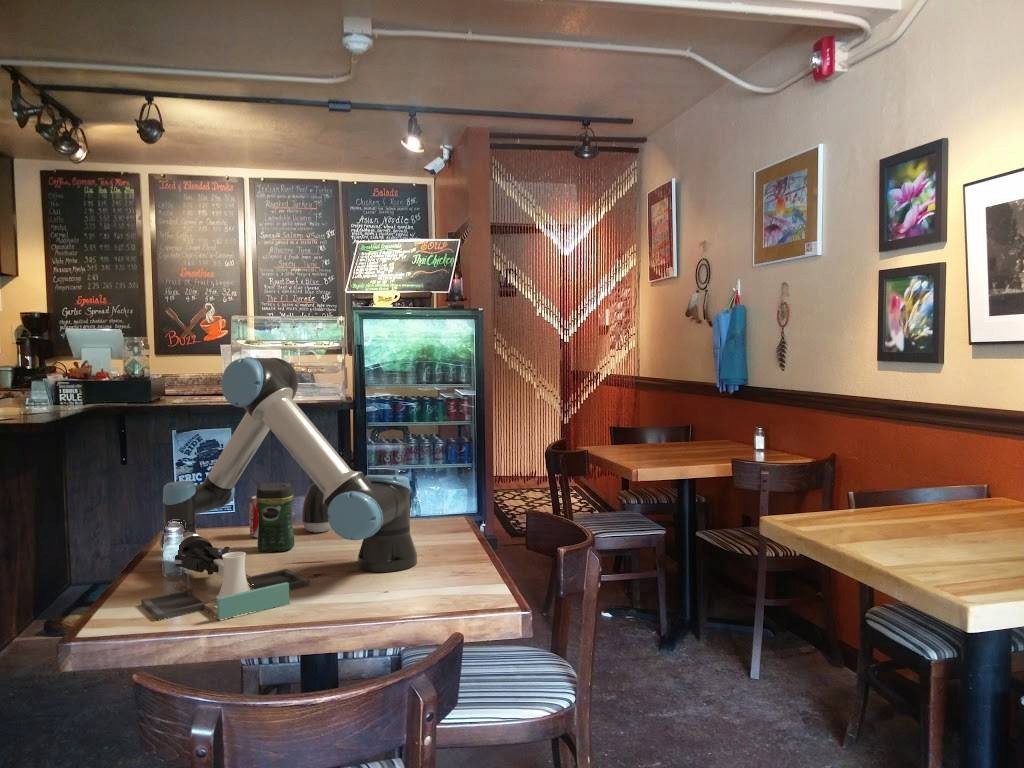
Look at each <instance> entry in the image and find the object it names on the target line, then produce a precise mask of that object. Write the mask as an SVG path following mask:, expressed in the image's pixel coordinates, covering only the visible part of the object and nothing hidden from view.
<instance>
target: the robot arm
mask: <svg viewBox="0 0 1024 768" xmlns="http://www.w3.org/2000/svg"><path fill="white" fill-rule="evenodd" d="M220 385H221V386H220V387H221V389H220V390H221V393H222V395H223V398H224V399H225V400H226V401H227V402H228V403H229V404H230V405H232V406H234V407H237V408H243V409H244V410H245V411H246V412H245V414H244V415H243V417H242V419H241V420H240V422H239V424H238V426H237V427H236V429H235V430H234V432H233V434H232V435H231V437H230V439H229V440H228V441H227V443H226V445H225V447H224V448H223V449H222V451H221V453H220V454H219V457H218V458H217V460H216V461H215V462H214V464H213V466H212V468H211V470H210V471H209V473H208V474H207V476H206V477H205V479H204V481H203V482H202V483H201V484H200V483H199V484H195V483H194V482H193V481H191V480H178V481H172V482H168V483H166V484H165V485H164V486H163V493H162V506H163V507H162V508H163V510H162V511H163V529H164V528H165V526H166V524H167V522H168V521H170V520H172V519H180V520H173V521H177V522H180V524H182V525H183V526H184V530H185V531H184V532H183V537H184V538H183V539H184V540H183V541H182V542H181V544H180V545H179V550H178V555H176V556H175V558H174V567H176V568H183V569H186V570H189V571H193V572H196V573H203V572H205V571H206V572H207V575H209V576H211V575H213V574H214V573H216V574H217V575H218V576H221V577H222V578H223V573H224V566H223V558H222V555H223V554H226V553H230V549H231V548H230V546H225V547H223V548H220V549H219V548H218V547H214V546H213V545H212V542H210V541H209V540H208V539H207V538H205V537H204V536H201V535H199V534H198V533H197V520H196V519H197V517H196V516H197V515H198V514H202V513H204V512H205V513H206V512H209V511H212V510H215V509H220V508H223V507H224V506H226V505H229V504H230V503H231V502H232V501H234V497H235V493H236V491H235V490H236V489H235V485H236V484H237V482H238V481H239V479H240V477H241V476H242V475H243V472H244V471H245V470H246V468H247V466H248V465H249V463H250V462H251V460H252V458H253V457H254V456H255V454H256V452H257V450H258V449H259V448H260V446H261V444H262V442H263V441H264V439H265V438H266V436H267V435H268V433H269V432H270V431H271V432H272V433H273V434H274V435H275V437H276V438H277V439H278V441H279V442H280V443H281V444H282V445H283V447H284V448H285V449H286V450H287V451H288V453H289V454H290V455H291V456H292V458H293V459H294V460H295V461H296V462H297V464H299V466H300V467H301V468H302V470H303V471H304V472H305V473H306V474H307V476H308V477H309V478H310V479H311V480H312V482H313V483H315V484H316V485H317V487H318V488H319V489H320V490H321V491H322V493H323V494H324V498H323V504H324V505H325V507H326V508H327V509H328V516H329V517H328V521H329V524H330V526H331V528H330V529H331V530H332V531H333V532H334V533H335V534H336V535H338V536H339V537H340V538H343V539H344V540H348V541H361V540H362V543H361V546H360V549H359V552H358V554H357V566H358V568H359V569H361V570H364V571H366V572H367V571H368V572H374V573H376V572H377V573H385V572H386V573H387V572H388V573H390V572H399V571H402V570H403V571H404V570H406V569H410V568H413V567H415V566H416V565H417V564H418V554H417V550H416V547H415V544H414V541H413V538H412V535H411V504H410V503H411V497H410V495H411V493H410V492H411V487H410V480H409V477H408V476H405V475H396V474H395V475H393V474H368V475H365V474H364V473H363V471H355V470H352V469H351V468H350V467H349V465H348V464H347V463H346V462H345V461H344V459H343V458H342V456H340V455H339V453H338V452H337V451H336V450H335V449H334V447H333V446H332V445H331V444H330V442H329V441H328V440H327V438H325V436H324V435H323V434H322V433H321V432H320V430H319V429H318V428H317V427H316V426H315V424H314V423H313V422H312V421H311V419H309V417H308V415H306V414H305V413H304V411H303V410H302V409H301V407H299V406H298V404H297V403H296V402H295V400H294V399H295V396H296V395H297V391H298V388H299V378H298V373H297V371H296V369H295V368H294V366H292V365H291V363H289V362H288V361H287V360H285V359H283V358H278V357H251V356H248V357H243V358H238V359H235V360H233V361H231V362H230V363H229V364H228V365H227V366H226V368H225V369H224V371H223V374H222V376H221V383H220ZM183 520H185V521H183ZM171 522H172V521H171ZM181 522H182V523H181ZM185 522H186V528H185ZM168 524H169V523H168ZM168 524H167V526H168ZM159 537H160V538H159V546H160V547H161V549H162V550H163V544H164V534H163V532H161V535H160V536H159Z"/></svg>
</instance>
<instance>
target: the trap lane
mask: <svg viewBox="0 0 1024 768" xmlns="http://www.w3.org/2000/svg"><path fill="white" fill-rule="evenodd" d="M245 574H246V579H247V582H248V583H249V584H250V585H252V584H254V585H252V586H254V587H255V588H257V589H259V588H263V587H268V586H272V585H276V584H281V583H285V582H287V583H289V589H291V590H295V588H296V589H300V588H304V587H308V586H310V580H309V579H308V578H306V577H304V576H301V575H300V574H299V573H295V572H294V571H291V570H289V569H288V568H283V569H279V570H278V569H277V570H275V571H270V572H265V573H261V574H255V575H252V576H251V575H249V574H247V573H245ZM249 584H248V585H249ZM250 585H249V586H250ZM252 586H251V587H252ZM254 587H253V588H254ZM299 587H300V588H299ZM255 588H254V589H255ZM175 589H176V591H175V592H172V593H167V594H161V595H158V596H156V595H155V596H152V597H148V598H143V599H141V606H142V607H143V608H144V609H145V610H146V611H147V612H148V613H149V614H150V615H152V616H153V617H154V616H155V617H156V618H157V619H158V620H159V619H163V620H165V619H164V618H167V619H169V618H168V617H172V618H174V617H173V616H176V617H179V616H178V615H180V616H183V615H182V614H184V615H187V614H186V613H189V614H192V613H191V612H193V613H196V612H195V611H197V612H200V611H199V610H202V611H205V610H206V611H208V612H209V613H210V614H212V615H213V616H215V617H216V618H217V606H215V605H214V604H213V603H211V602H209V601H204V602H203V601H201V599H199V598H198V597H196V596H195V595H193V589H191V588H190V587H188V586H187V585H186V584H184V583H183V582H176V583H175ZM178 590H179V591H178ZM203 609H205V610H203ZM206 611H205V612H206ZM208 612H207V613H208ZM209 613H208V614H209ZM210 614H209V615H210ZM212 615H211V616H212ZM213 616H212V617H213ZM155 617H154V618H155ZM156 618H155V619H156ZM216 618H215V619H216ZM157 619H156V620H157ZM158 620H157V621H158ZM159 621H160V620H159Z"/></svg>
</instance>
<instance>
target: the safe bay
mask: <svg viewBox="0 0 1024 768" xmlns="http://www.w3.org/2000/svg"><path fill="white" fill-rule="evenodd" d="M216 600H217V602H216V608H217V619H219V620H221V619H225V618H229V617H233V616H237V615H241V614H245V613H249V612H254V611H259V612H261V611H260V610H263V611H265V610H264V609H267V610H270V609H269V608H271V609H274V608H273V607H275V608H278V607H277V606H279V607H282V606H281V605H284V606H286V605H285V604H288V605H289V604H290V590H289V583H287V582H285V583H281V584H276V585H272V586H268V587H263V588H259V589H255V588H254V589H250V591H245V592H241V593H237V594H232V595H228V596H223V597H219V598H216ZM217 619H216V620H217Z"/></svg>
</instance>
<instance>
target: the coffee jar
mask: <svg viewBox="0 0 1024 768" xmlns="http://www.w3.org/2000/svg"><path fill="white" fill-rule="evenodd" d="M255 496H256V501H257V504H258V507H259V529H258V538H257V550H259V552H264V551H265V552H266V553H268V552H269V553H276V552H275V551H279V552H284V551H287V550H291V549H293V548H294V547H295V534H294V527H293V518H292V502H293V499H294V492H293V486H292V483H289V482H288V483H286V482H268V483H263V484H260V485H259V486H257V489H256V495H255ZM272 551H273V552H272Z"/></svg>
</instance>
